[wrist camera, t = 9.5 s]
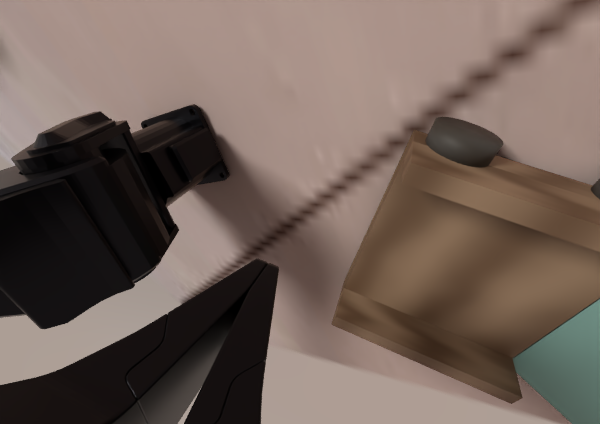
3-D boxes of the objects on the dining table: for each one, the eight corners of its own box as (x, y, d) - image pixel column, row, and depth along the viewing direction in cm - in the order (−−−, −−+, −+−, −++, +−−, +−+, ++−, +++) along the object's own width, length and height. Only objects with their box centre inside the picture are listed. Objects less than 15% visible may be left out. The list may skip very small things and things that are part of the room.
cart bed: (342, 283, 28) (327, 332, 24) (422, 108, 17) (422, 139, 13) (488, 344, 26) (501, 409, 22) (684, 187, 15) (786, 255, 11)
